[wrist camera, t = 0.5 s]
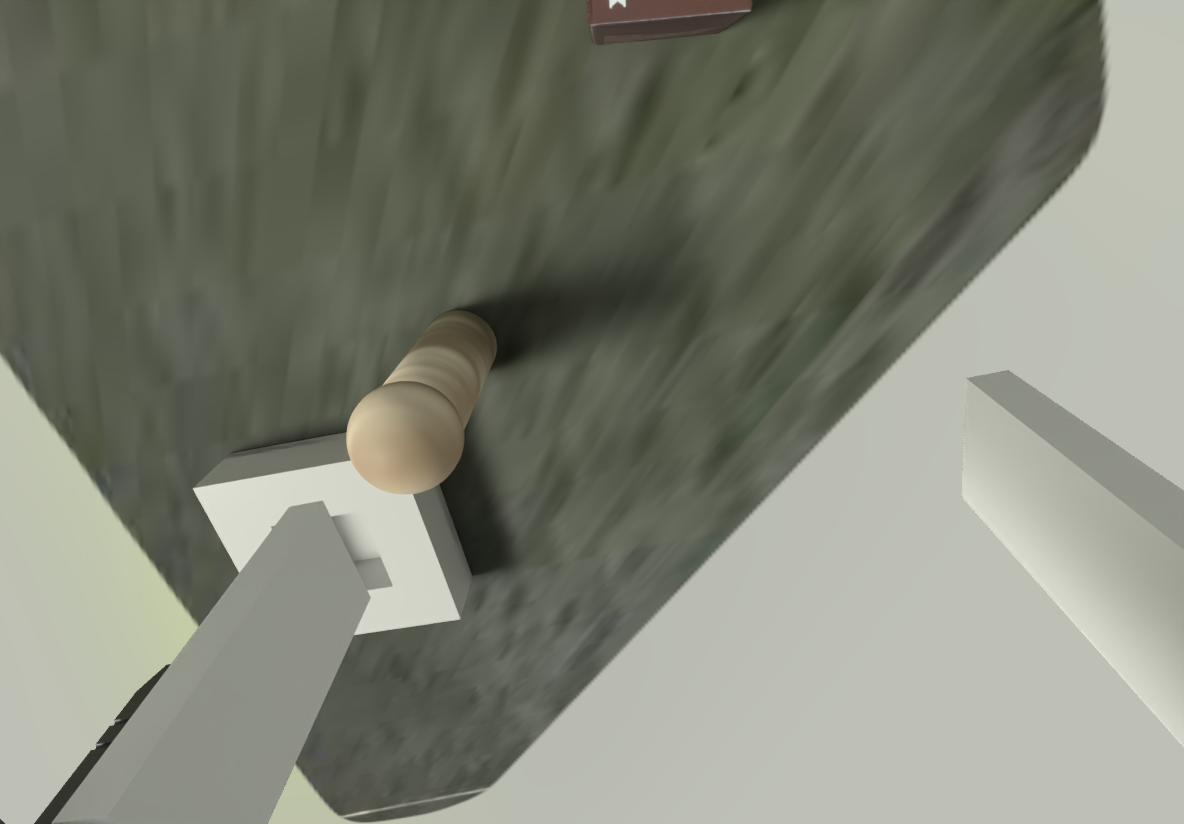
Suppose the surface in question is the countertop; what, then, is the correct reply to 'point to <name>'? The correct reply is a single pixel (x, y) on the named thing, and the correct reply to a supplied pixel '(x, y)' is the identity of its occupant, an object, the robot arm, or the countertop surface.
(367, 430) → the pestle
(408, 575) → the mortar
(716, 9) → the box
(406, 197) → the countertop surface
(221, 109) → the countertop surface
